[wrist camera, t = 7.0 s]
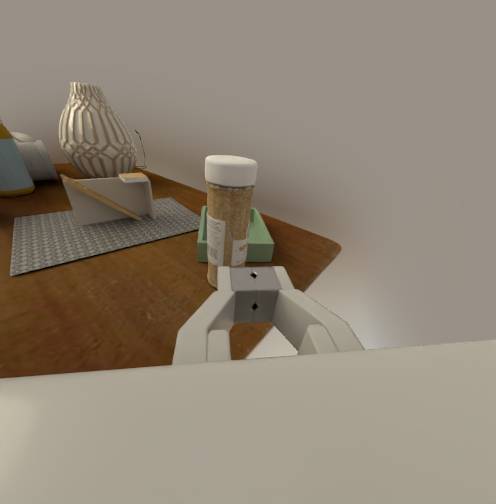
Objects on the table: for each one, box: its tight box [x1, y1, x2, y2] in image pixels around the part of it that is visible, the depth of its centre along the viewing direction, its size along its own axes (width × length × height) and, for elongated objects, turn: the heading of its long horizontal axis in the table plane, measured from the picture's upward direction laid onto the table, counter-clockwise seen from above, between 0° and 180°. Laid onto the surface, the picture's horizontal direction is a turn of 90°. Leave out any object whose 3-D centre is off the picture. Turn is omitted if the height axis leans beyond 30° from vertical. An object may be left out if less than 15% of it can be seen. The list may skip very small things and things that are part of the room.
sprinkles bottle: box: [205, 155, 257, 288], centre depth 21 cm, size 5×5×13 cm
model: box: [60, 173, 157, 226], centre depth 32 cm, size 3×11×8 cm, turn 132°
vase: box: [59, 82, 137, 179], centre depth 51 cm, size 16×16×20 cm
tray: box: [197, 206, 274, 262], centre depth 33 cm, size 13×10×3 cm
